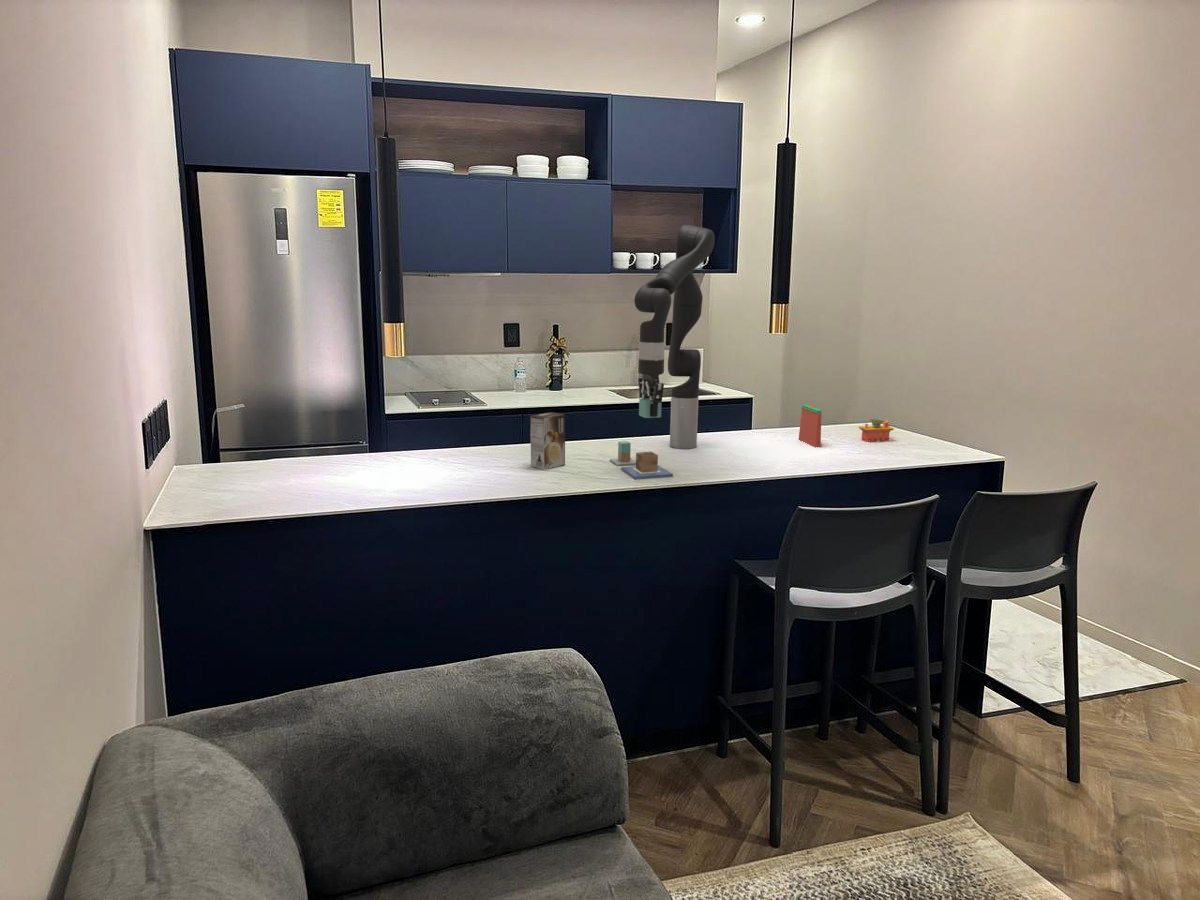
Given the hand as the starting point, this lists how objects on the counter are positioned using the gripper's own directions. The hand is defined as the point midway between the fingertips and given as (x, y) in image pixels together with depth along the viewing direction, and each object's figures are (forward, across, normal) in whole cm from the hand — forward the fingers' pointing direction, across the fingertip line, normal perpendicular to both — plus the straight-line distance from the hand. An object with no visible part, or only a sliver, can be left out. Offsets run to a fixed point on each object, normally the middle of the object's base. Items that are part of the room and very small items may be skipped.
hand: (649, 414), depth 258 cm
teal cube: (0, 0, 0) cm, 0 cm away
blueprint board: (+18, -1, 0) cm, 18 cm away
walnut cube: (+17, -1, 0) cm, 17 cm away
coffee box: (+18, -18, -26) cm, 36 cm away
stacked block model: (+18, -15, -2) cm, 23 cm away
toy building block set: (+18, -21, +87) cm, 91 cm away
